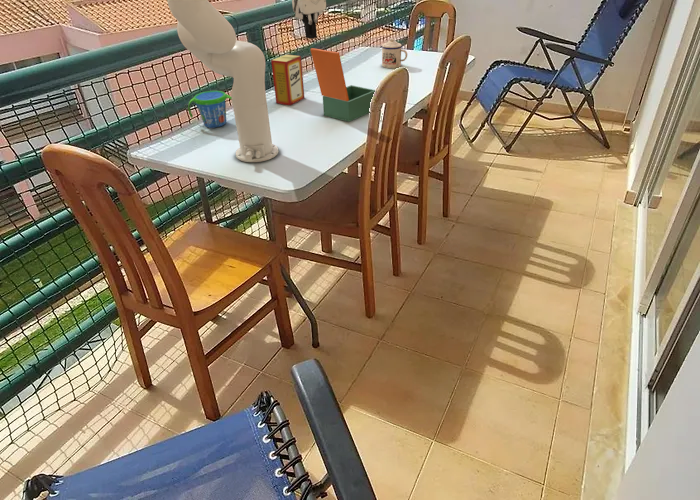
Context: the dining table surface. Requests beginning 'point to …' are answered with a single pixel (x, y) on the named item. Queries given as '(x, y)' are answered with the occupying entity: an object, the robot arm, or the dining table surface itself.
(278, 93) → the baking soda box
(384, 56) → the teacup with lid
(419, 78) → the dining table surface
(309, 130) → the dining table surface
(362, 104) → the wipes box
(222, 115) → the snack cup
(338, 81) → the lid
